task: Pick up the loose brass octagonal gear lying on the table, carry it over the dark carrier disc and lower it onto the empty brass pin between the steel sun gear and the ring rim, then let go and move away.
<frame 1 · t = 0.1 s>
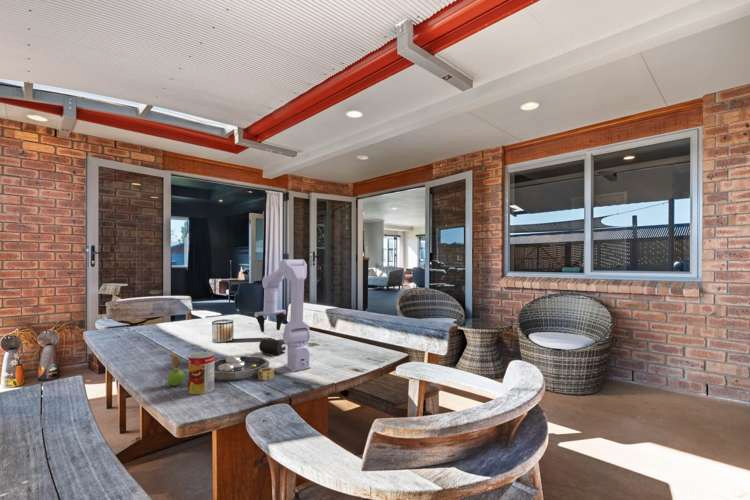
hand: (270, 330, 170), 10 cm above the table, tool pointing down, fingers open, 7 cm apart
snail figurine: (175, 385, 126), on the table
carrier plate: (237, 371, 142), on the table
end cap: (272, 354, 168), on the table
planet gear: (266, 377, 134), on the table
canned food: (201, 391, 121), on the table
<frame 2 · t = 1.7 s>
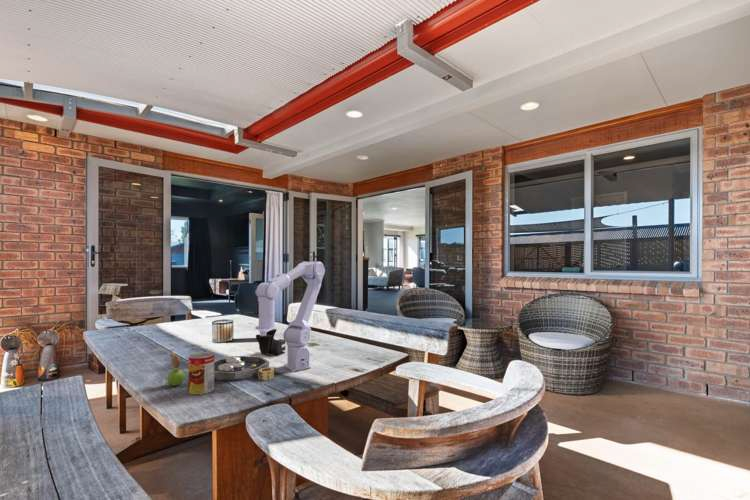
hand: (266, 351, 135), 9 cm above the table, tool pointing down, fingers open, 7 cm apart
nothing on the table moved.
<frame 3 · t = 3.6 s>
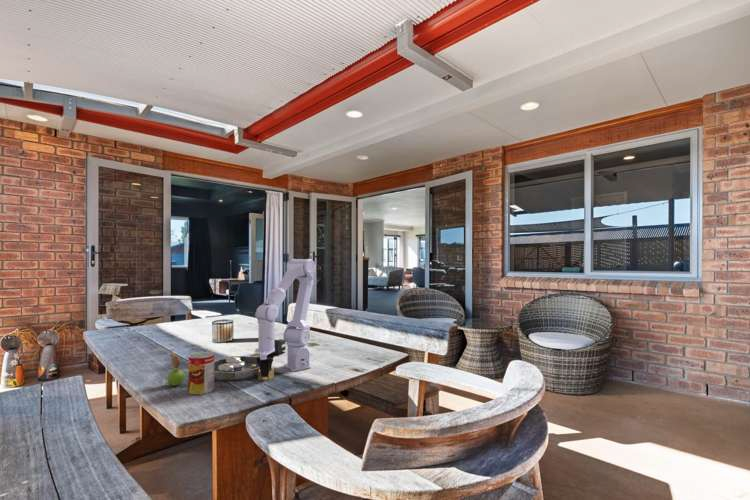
hand: (266, 374, 134), 1 cm above the table, tool pointing down, fingers closed on planet gear, 5 cm apart
planet gear: (266, 377, 134), on the table, touching gripper
everything else where it was.
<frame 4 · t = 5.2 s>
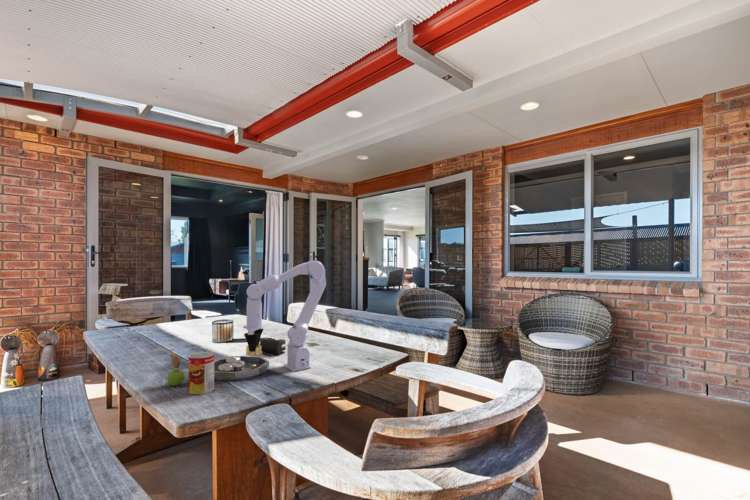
hand: (253, 349, 142), 8 cm above the table, tool pointing down, fingers closed on planet gear, 5 cm apart
planet gear: (253, 353, 142), point 7 cm above the table, touching gripper
everything else where it was.
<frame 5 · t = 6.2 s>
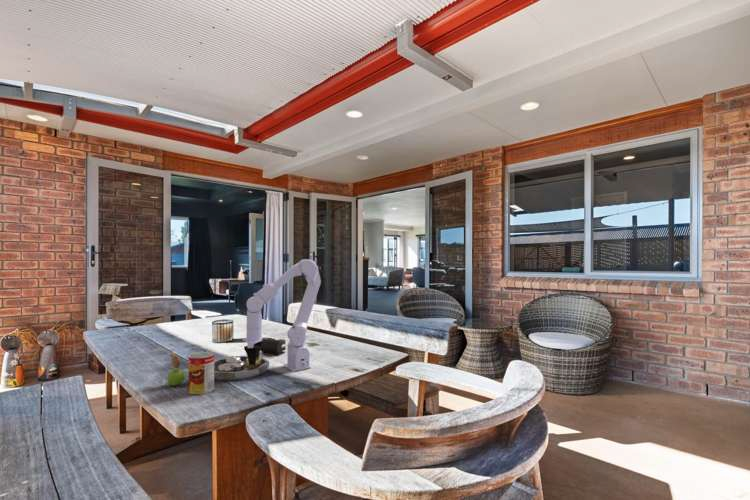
hand: (253, 362, 142), 3 cm above the table, tool pointing down, fingers closed on planet gear, 5 cm apart
planet gear: (253, 366, 142), point 2 cm above the table, touching gripper
everything else where it was.
when the fingers open (3 cm above the table, at t = 7.0 s): planet gear stays where it is, resting on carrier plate.
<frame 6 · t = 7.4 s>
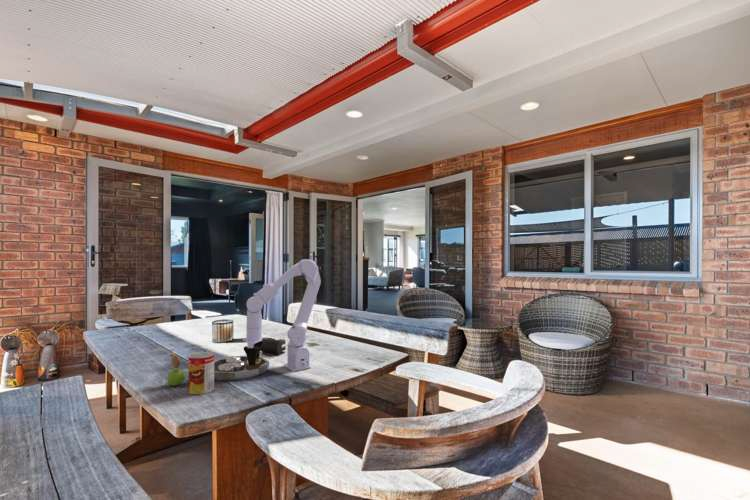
hand: (253, 362, 142), 3 cm above the table, tool pointing down, fingers open, 7 cm apart
planet gear: (253, 368, 142), point 1 cm above the table, touching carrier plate
everything else where it was.
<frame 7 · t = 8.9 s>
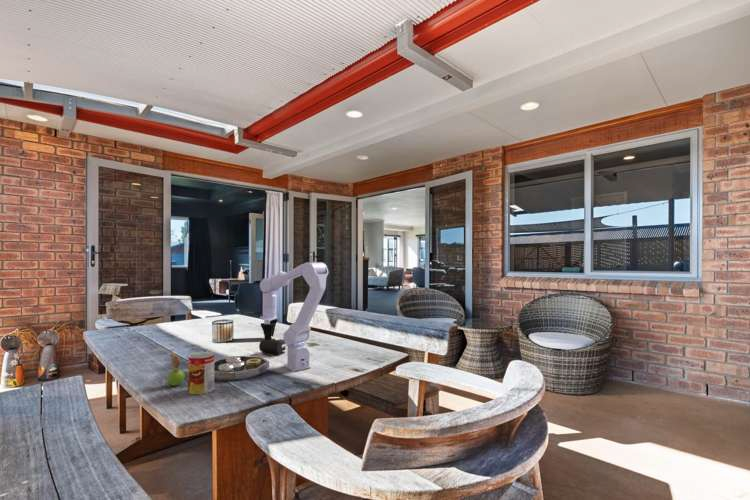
hand: (269, 338, 156), 10 cm above the table, tool pointing down, fingers open, 7 cm apart
nothing on the table moved.
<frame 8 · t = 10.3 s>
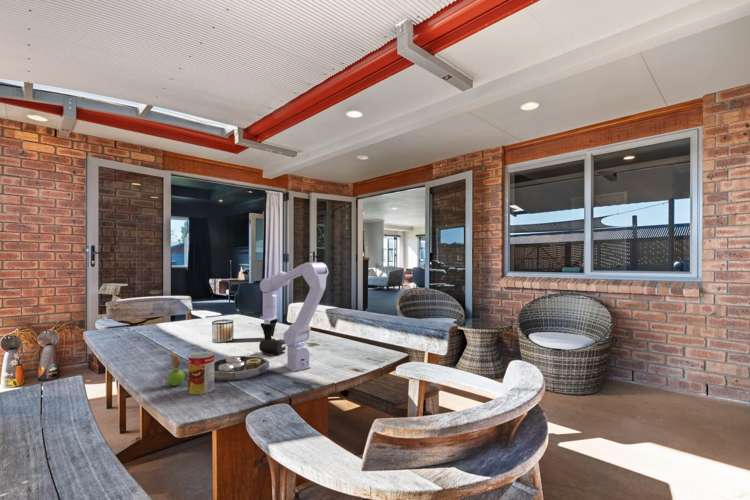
hand: (269, 338, 156), 10 cm above the table, tool pointing down, fingers open, 7 cm apart
nothing on the table moved.
at the end: planet gear 0.0 cm from the target spot on the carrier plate, point 1.0 cm above the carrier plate's base; planet gear tilted 0°; the gripper is holding nothing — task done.
